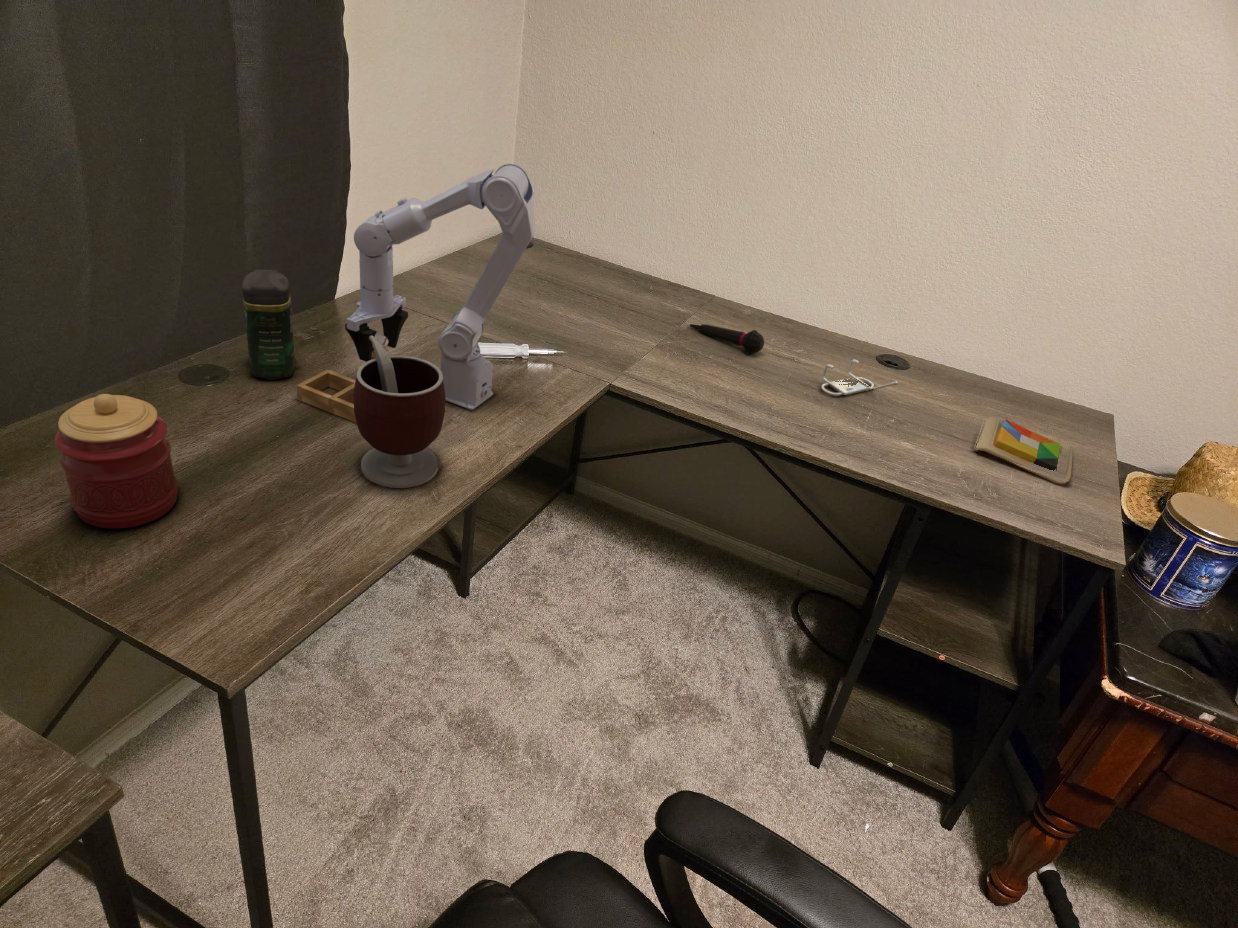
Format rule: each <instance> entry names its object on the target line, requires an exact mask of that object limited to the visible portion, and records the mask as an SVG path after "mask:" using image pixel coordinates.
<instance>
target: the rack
mask: <svg viewBox="0 0 1238 928" xmlns="http://www.w3.org/2000/svg"><path fill="white" fill-rule="evenodd" d="M355 381H356V379H355V378H351V377H349V376H346V375H343V374H341V373H338V372H335V371H333V370H330V369H325V370H323V371H321V372H319V373H317V374H316V375H314V376H312V377H310V378H307V379H306V380H304V381H302V382H300V383H298V384H296V397H297V398H296V399H297V401H299V402H302V403H305V404H307V405H309V406H313V407H315V408H318V409H319V410H323V411H325V412H328V413H330V414H332V415H335V416H338V417H340V418H343V419H345V420H347V421H350V422H352V423H356V418H355V414H354V387H355ZM327 388H330V389H333V390H336V391H338V392H336V393H334V394H333V395H331V394H329V393H326V392H324V390H326V389H327ZM356 424H357V423H356Z"/></svg>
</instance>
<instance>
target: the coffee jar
mask: <svg viewBox="0 0 1238 928" xmlns="http://www.w3.org/2000/svg"><path fill="white" fill-rule="evenodd" d="M290 289H291V288H290V283H289V279H288V278H287V276H285V275H284V274H282V273H281V272H280V271H279V270H273V269H254V270H253V271H251V272H249V273H248V274H246V276H244V278H243V280H242V285H241V291H242V302H243V311H244V321H245V322H244V323H245V330H246V331H245V332H246V340H247V350H248V362H249V363H248V364H249V370H250V373H251V375H253V376H254V377H255V378H261V379H265V380H279V379H282V378H289V377H291V376H292V375H293V373H294V371H295V366H296V361H295V345H294V344H295V343H294V325H293V312H292V311H293V310H292V300H291V291H290Z"/></svg>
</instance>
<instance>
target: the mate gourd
mask: <svg viewBox="0 0 1238 928" xmlns="http://www.w3.org/2000/svg"><path fill="white" fill-rule="evenodd" d="M369 340H370V341H371V342H372V345H373V348H374V352H375V356H376V358H375V359H372V360H369V361H367V362H365V361H364V363H362V364H360V366H359V367H358V368H357V371H356V377H355V380H356V381H355V387H354V402H353V404H354V414H355V418H356V426H357V429H358V431H359V434H360V436H361V437H362V438H363V440H365V441H366V442H367V443H368V444H369V445H370V446H371V447H372V448H371V449H369V450H368V451H367V452H365V454H364V455H363V456H362V458H361V460H360V470H361V472H362V474H363V475H364V477H365V478H366V479H367V480H368V481H370V482H372V483H374V484H376V485H378V486H381V487H386V488H391V489H392V488H393V489H407V488H414V487H418V486H421V485H423V484H426V483H427V482H429V481H430V480H433V478H434V477H435V476H436V474H437V472H438V470H439V461H438V458H437V456H436V455H435V454H434V453H433V452H432V451H431V450H429V449H428V447H429V446H430V445H432V443H433V442H435V440H437V438H438V437H439V436H440V434H441V430H442V427H443V423H444V419H445V415H446V414H445V413H446V402H447V401H446V396H445V388H444V383H443V375H442V372H441V370H440V368H439V367H438V366H437V365H436V364H434V363H432V362H431V361H428V360H426V359H423V358H419V357H415V356H409V355H389V353H388V351H387V352H386V350H385V349H384V348H383V347H382V345H381V344H380V343H379V342H378V341H377V340H376V339H375V337H374V336H370V337H369Z"/></svg>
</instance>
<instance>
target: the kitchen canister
mask: <svg viewBox="0 0 1238 928" xmlns="http://www.w3.org/2000/svg"><path fill="white" fill-rule="evenodd" d="M57 425H58V430H57V431H56V434H55V436H54V445H55V447H56V448H57V450H58V451H59V452H60V453H61V456H60V459H59V461H60V466H61V468H62V470H63V471H64V475H65V478H66V481H67V485H68V489H69V492H70V502H71V506H72V508H73V510H74V511H75V512H76V514H77V516H78V517H79V519H80V520H81V521H83V522H84V523H86V524H88V525H90V526H93V527H95V528H96V527H97V528H101V529H127V528H135V527H138V526H142V525H146V524H148V523H151V522H153V521H156V520H157V519H159V518H161V517H162V516H164V515H165V514H167V513H168V512H169V511H170V510H171V509H172V508H173V507H174V506H175V504H176V502H177V499H178V493H179V485H178V480H177V477H176V476H175V471H174V466H173V460H172V456H171V453H172V448H171V443H170V442H169V441H168V439H167V438H166V436H167V434H168V426H167V423H166V422H165V420H164V419H163V418H162V417H160V416H159V415H158V411H157V409H156V407H155V406H154V405H152V404H151V403H150V402H148V401H145V400H143V399H139V398H135V397H132V396H129V395H123V394H122V395H121V394H110V393H101V394H98V395H97V396H94V397H89V398H87V399H85V400H82V401H80V402H79V403H77V404H75V405H73V406H72V407H70V408H68V409H67V410H65V411H64V412H63V413H62V415H60V416H59V419H58V423H57Z"/></svg>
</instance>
